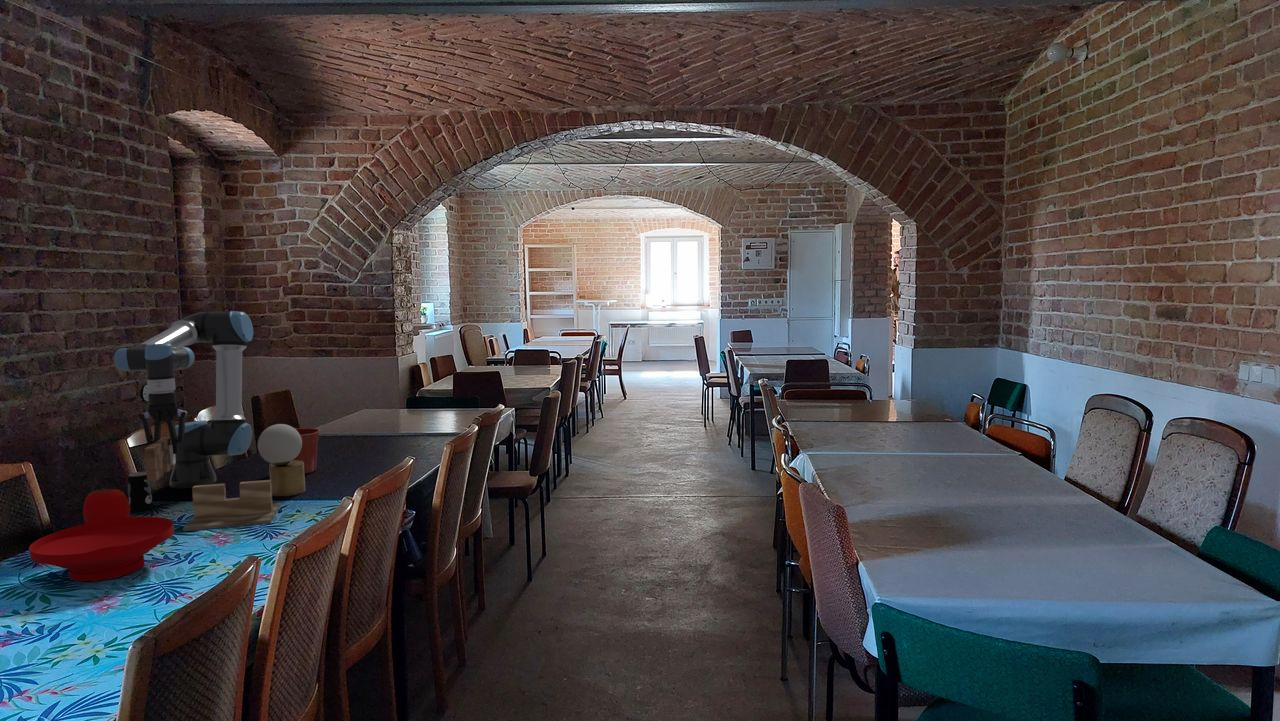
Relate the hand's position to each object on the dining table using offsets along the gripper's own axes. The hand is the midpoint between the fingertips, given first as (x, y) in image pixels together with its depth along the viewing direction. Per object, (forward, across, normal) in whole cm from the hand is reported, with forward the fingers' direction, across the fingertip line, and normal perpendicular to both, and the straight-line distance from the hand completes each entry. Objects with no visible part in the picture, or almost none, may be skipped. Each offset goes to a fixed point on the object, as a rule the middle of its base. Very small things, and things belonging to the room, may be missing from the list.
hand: (167, 464), depth 248 cm
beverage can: (+17, -12, +11) cm, 23 cm away
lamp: (+17, +31, +15) cm, 39 cm away
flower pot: (+17, +32, +50) cm, 62 cm away
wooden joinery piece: (+17, +21, -11) cm, 29 cm away
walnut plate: (+2, 0, -7) cm, 7 cm away
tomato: (+17, -12, -16) cm, 26 cm away
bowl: (+17, -1, -52) cm, 55 cm away
